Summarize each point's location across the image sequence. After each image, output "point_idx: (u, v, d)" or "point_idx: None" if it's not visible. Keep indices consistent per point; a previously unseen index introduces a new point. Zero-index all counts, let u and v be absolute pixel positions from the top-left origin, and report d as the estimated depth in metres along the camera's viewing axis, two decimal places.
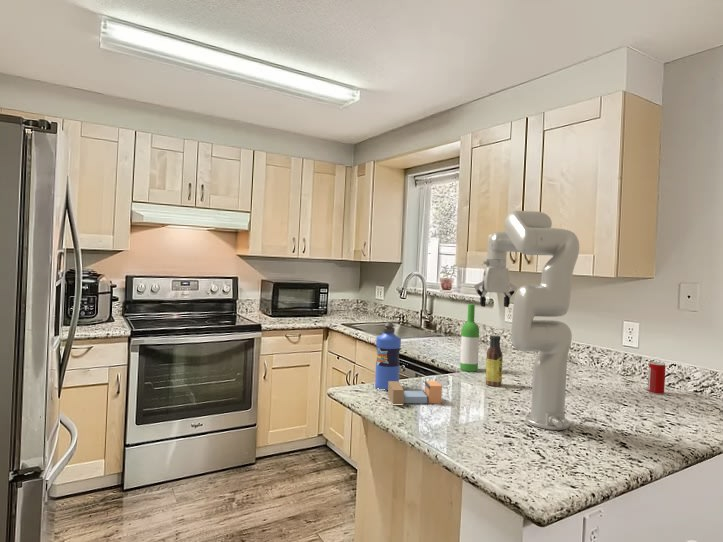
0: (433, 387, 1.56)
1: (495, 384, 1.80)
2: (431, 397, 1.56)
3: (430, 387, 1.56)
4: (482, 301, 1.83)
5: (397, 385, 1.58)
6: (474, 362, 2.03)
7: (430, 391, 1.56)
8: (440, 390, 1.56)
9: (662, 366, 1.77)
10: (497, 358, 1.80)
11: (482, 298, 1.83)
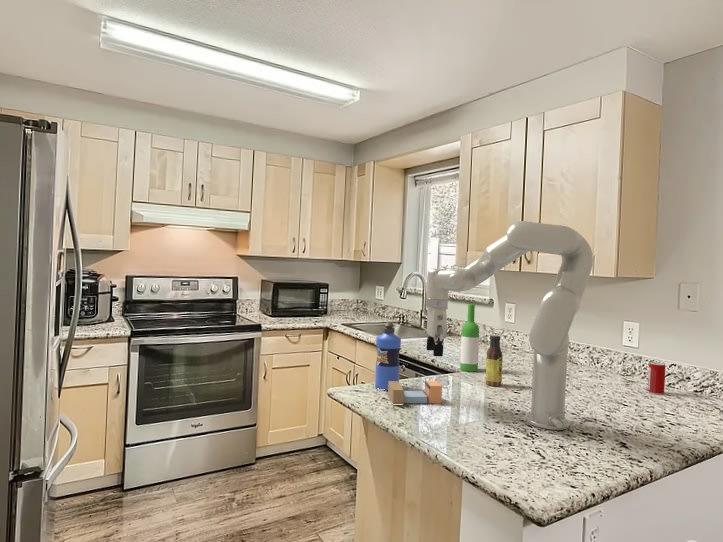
0: (433, 387, 1.56)
1: (495, 384, 1.80)
2: (431, 397, 1.56)
3: (430, 387, 1.56)
4: (441, 350, 1.54)
5: (397, 385, 1.58)
6: (474, 362, 2.03)
7: (430, 391, 1.56)
8: (440, 390, 1.56)
9: (662, 366, 1.77)
10: (496, 358, 1.80)
11: None
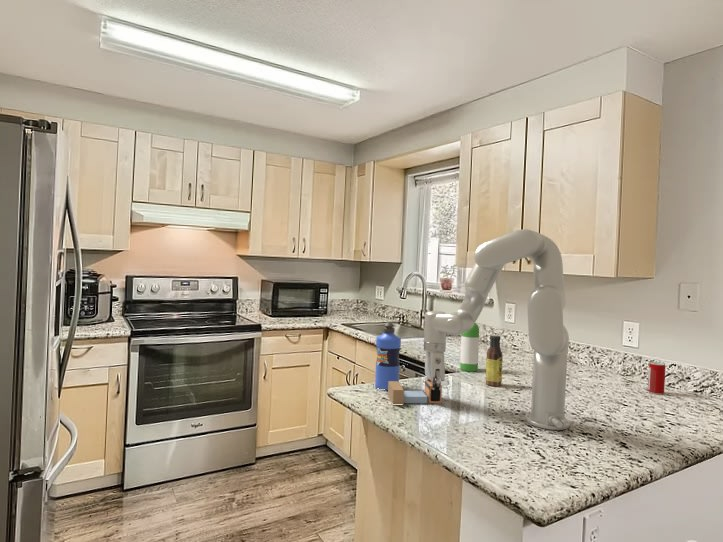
0: None
1: (495, 384, 1.80)
2: None
3: (430, 387, 1.56)
4: (438, 395, 1.55)
5: (397, 385, 1.58)
6: (474, 362, 2.03)
7: (430, 391, 1.56)
8: (440, 390, 1.56)
9: (662, 366, 1.77)
10: (497, 358, 1.80)
11: None
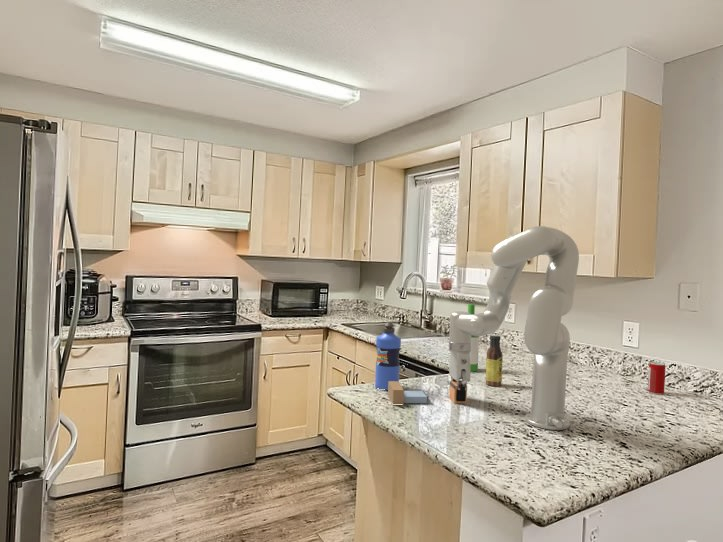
0: None
1: (495, 384, 1.80)
2: None
3: (456, 387, 1.57)
4: (463, 395, 1.56)
5: (397, 385, 1.58)
6: (474, 362, 2.03)
7: None
8: None
9: (662, 366, 1.77)
10: (496, 358, 1.80)
11: (463, 392, 1.56)
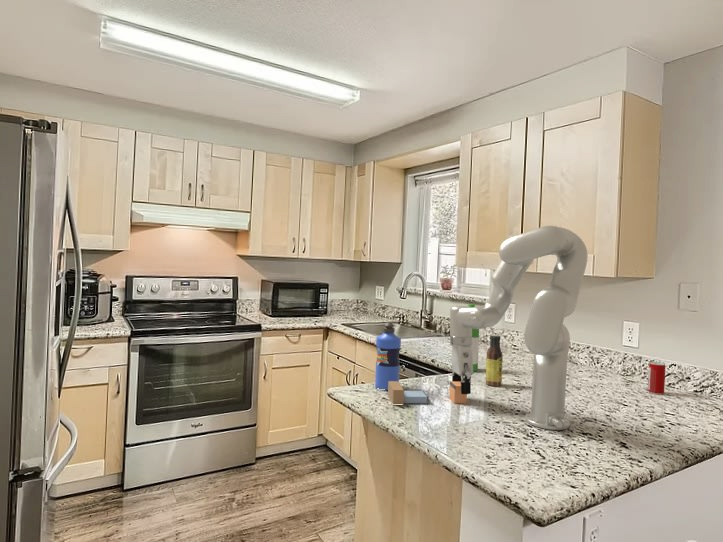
0: (459, 387, 1.57)
1: (495, 384, 1.80)
2: (457, 397, 1.57)
3: (456, 387, 1.57)
4: (468, 388, 1.54)
5: (397, 385, 1.58)
6: (474, 362, 2.03)
7: (456, 391, 1.57)
8: None
9: (662, 366, 1.77)
10: (497, 358, 1.80)
11: (468, 384, 1.54)
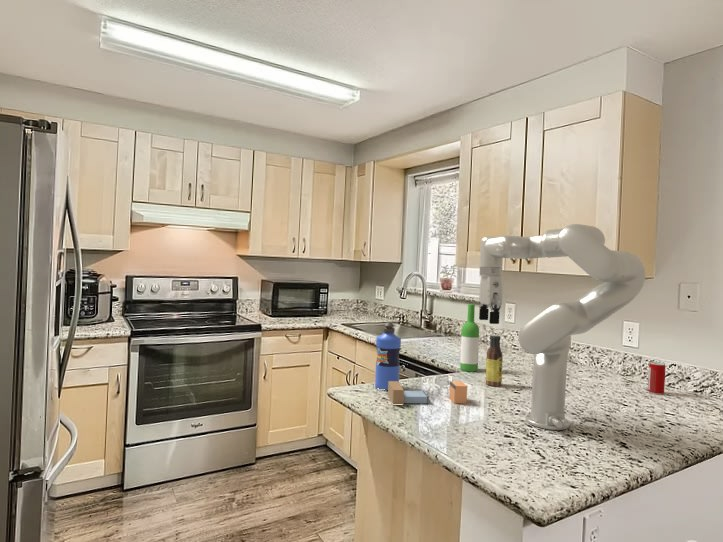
0: (459, 387, 1.57)
1: (495, 384, 1.80)
2: (457, 397, 1.57)
3: (456, 387, 1.57)
4: (497, 317, 1.53)
5: (397, 385, 1.58)
6: (474, 362, 2.03)
7: (456, 391, 1.57)
8: (465, 390, 1.57)
9: (662, 366, 1.77)
10: (497, 358, 1.80)
11: (497, 314, 1.53)
